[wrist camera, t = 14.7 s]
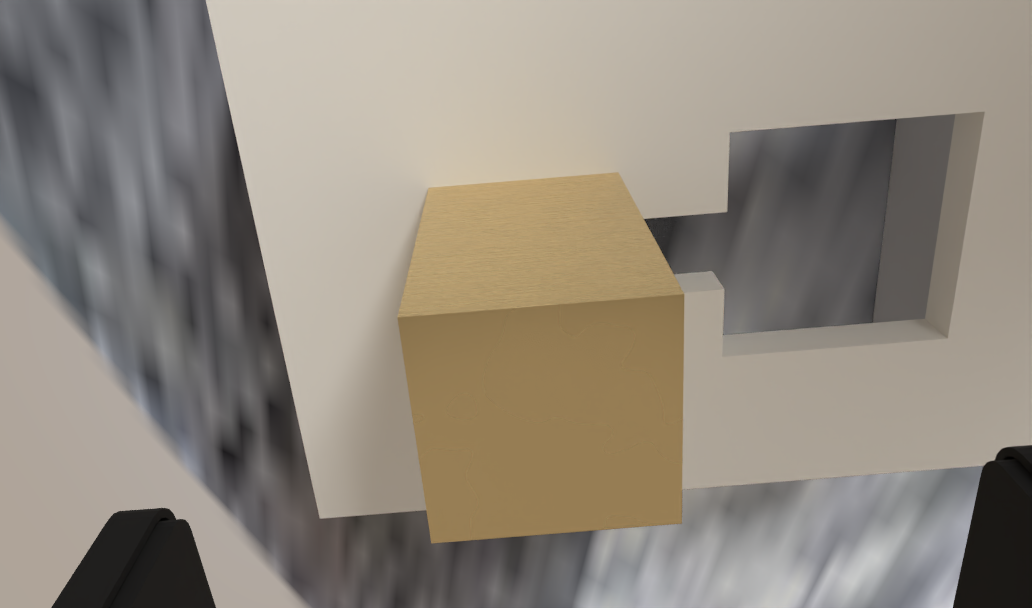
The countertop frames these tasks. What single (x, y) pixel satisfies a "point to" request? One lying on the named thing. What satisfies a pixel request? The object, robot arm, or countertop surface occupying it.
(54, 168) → the countertop surface
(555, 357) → the brass peg
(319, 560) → the countertop surface
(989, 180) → the notched white bracket
